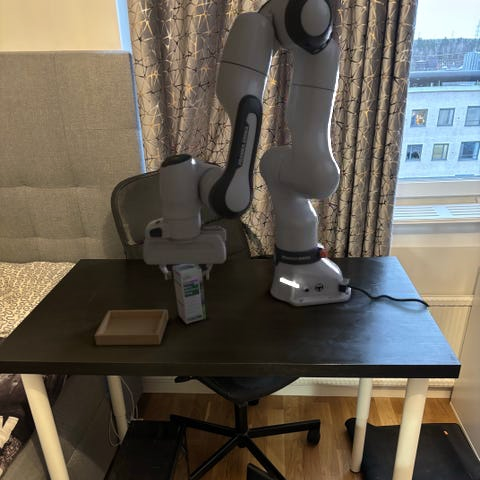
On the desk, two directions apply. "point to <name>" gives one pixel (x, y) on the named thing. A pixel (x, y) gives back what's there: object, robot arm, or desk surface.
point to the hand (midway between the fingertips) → (187, 278)
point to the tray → (132, 327)
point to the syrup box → (189, 292)
